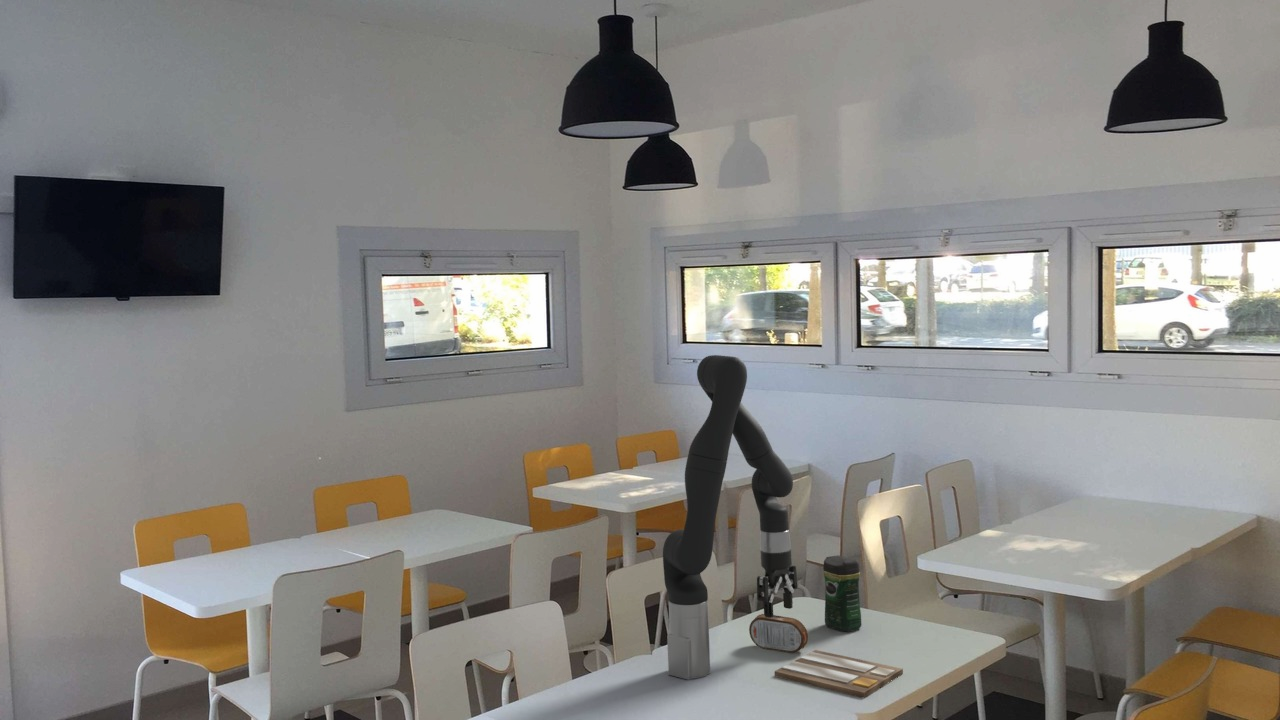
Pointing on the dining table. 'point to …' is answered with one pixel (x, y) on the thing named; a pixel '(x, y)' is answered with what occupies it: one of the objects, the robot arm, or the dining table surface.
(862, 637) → the dining table surface
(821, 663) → the board
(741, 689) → the dining table surface
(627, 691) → the dining table surface
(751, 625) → the tin
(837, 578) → the coffee jar
